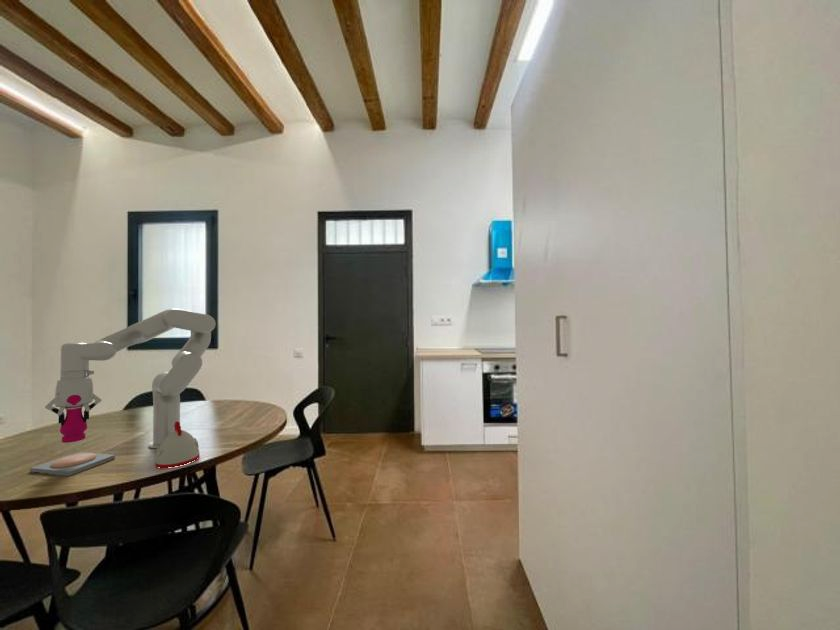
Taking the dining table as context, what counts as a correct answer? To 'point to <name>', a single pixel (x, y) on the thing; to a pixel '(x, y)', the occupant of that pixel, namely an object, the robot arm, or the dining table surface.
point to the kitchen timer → (177, 449)
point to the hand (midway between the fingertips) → (74, 422)
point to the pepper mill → (73, 421)
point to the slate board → (72, 463)
